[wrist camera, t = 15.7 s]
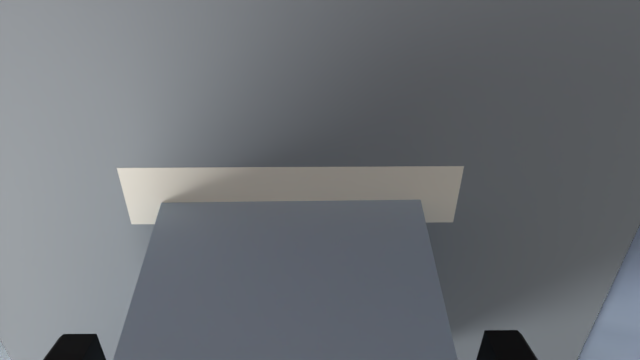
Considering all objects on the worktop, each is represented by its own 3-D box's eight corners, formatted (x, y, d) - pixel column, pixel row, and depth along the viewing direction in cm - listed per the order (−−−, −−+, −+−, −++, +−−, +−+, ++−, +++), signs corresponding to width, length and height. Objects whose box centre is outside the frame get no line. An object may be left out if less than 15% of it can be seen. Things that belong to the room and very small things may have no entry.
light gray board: (536, 436, 17) (538, 443, 17) (61, 442, 17) (59, 448, 17) (755, -48, 9) (765, -44, 9) (-198, -48, 8) (-208, -44, 8)
